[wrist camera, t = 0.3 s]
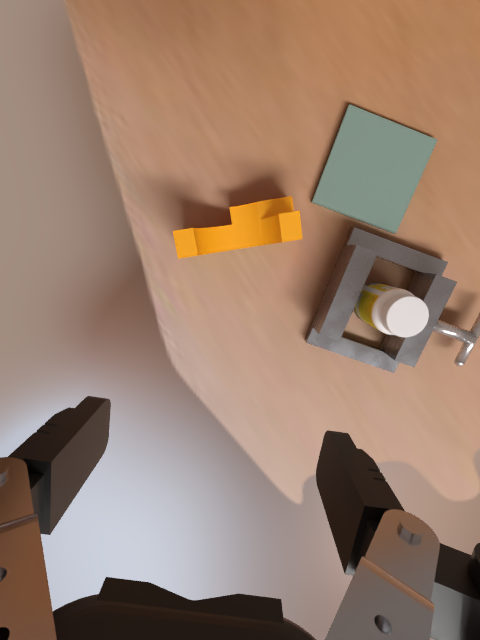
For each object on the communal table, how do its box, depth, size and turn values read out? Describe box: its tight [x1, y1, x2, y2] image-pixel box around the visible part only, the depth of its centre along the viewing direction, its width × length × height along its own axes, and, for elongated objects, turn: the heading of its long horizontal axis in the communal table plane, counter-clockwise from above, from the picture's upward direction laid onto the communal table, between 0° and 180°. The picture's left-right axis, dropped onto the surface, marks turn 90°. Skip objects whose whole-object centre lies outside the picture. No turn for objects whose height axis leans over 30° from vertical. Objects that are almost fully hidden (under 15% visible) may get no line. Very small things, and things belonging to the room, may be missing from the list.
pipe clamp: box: [173, 196, 302, 259], centre depth 33 cm, size 12×4×6 cm, turn 99°
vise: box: [305, 227, 480, 373], centre depth 36 cm, size 14×18×4 cm
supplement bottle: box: [353, 283, 429, 337], centre depth 34 cm, size 5×5×8 cm
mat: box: [312, 104, 437, 233], centre depth 35 cm, size 10×10×1 cm
